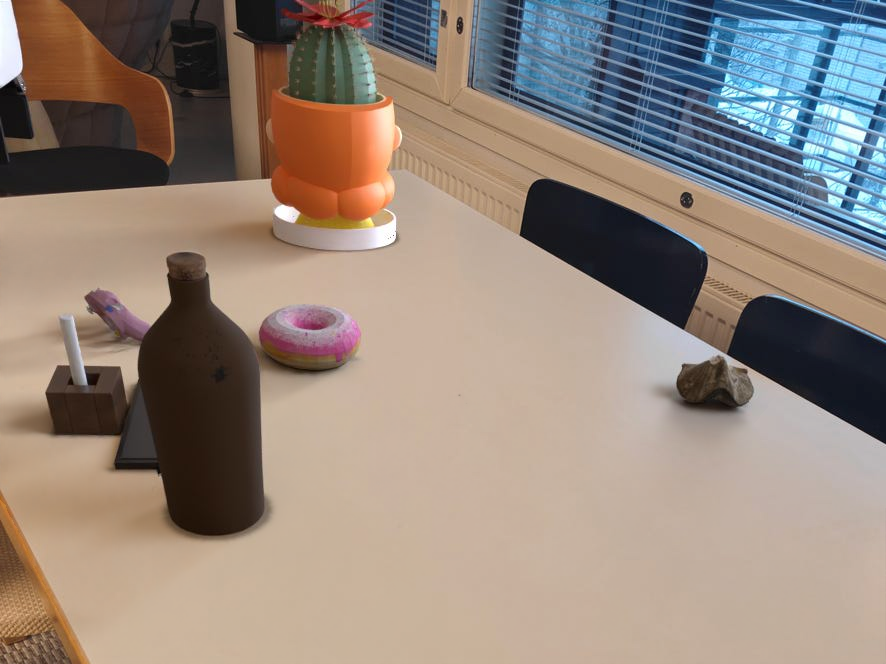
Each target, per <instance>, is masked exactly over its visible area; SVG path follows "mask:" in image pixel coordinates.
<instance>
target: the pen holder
mask: <svg viewBox="0 0 886 664" xmlns="http://www.w3.org/2000/svg"><path fill="white" fill-rule="evenodd" d="M84 370H85V375H86V379H87V384H88V385H74V383H73V379H72V374H71V370H70V365H69V364H68V365H67V364H57V365H56V368H55V370H54V372H53V374H52V376H51V378H50V381H49V383H48V385H47V387H46V388H45V389H46V390H45V392H44V394H45V398H46V402H47V406H48V409H49V410H48V411H49V414H50V417H51V423H52V426H53V430H54V434H55V435H120V434H121V430H122V427H123V424H124V420H125V418H126V415H127V411H128V407H129V405H128V399H127V394H126V393H127V392H126V389H125V384H124V383H125V382H124V378H123V372H122V367H121V366H120V365H84Z"/></svg>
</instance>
